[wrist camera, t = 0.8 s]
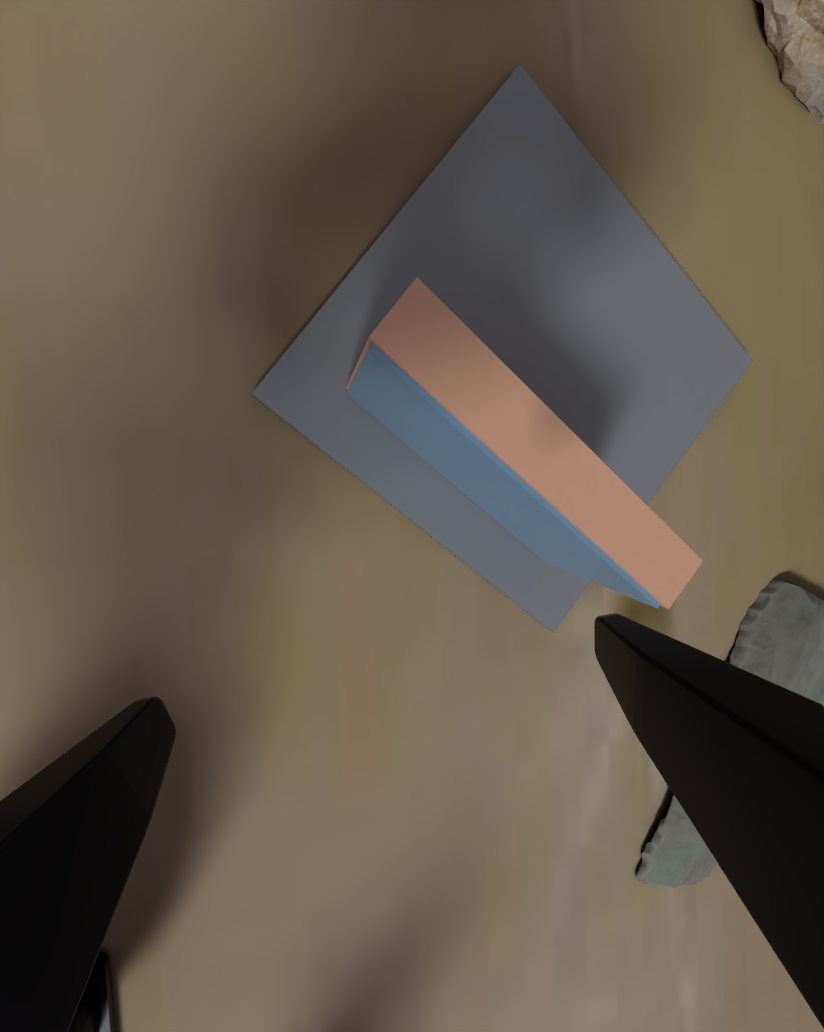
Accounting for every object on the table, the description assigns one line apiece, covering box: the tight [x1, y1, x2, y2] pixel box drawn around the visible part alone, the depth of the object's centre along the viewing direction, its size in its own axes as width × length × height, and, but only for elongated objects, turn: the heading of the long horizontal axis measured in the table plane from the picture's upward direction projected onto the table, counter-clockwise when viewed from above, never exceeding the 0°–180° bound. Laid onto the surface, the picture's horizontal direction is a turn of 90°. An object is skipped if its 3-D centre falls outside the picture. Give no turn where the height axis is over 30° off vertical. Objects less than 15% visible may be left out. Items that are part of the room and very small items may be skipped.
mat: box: [251, 64, 753, 633], centre depth 22 cm, size 20×20×1 cm
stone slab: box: [636, 579, 824, 887], centre depth 29 cm, size 22×3×10 cm
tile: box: [346, 277, 703, 609], centre depth 17 cm, size 2×14×8 cm, turn 51°
